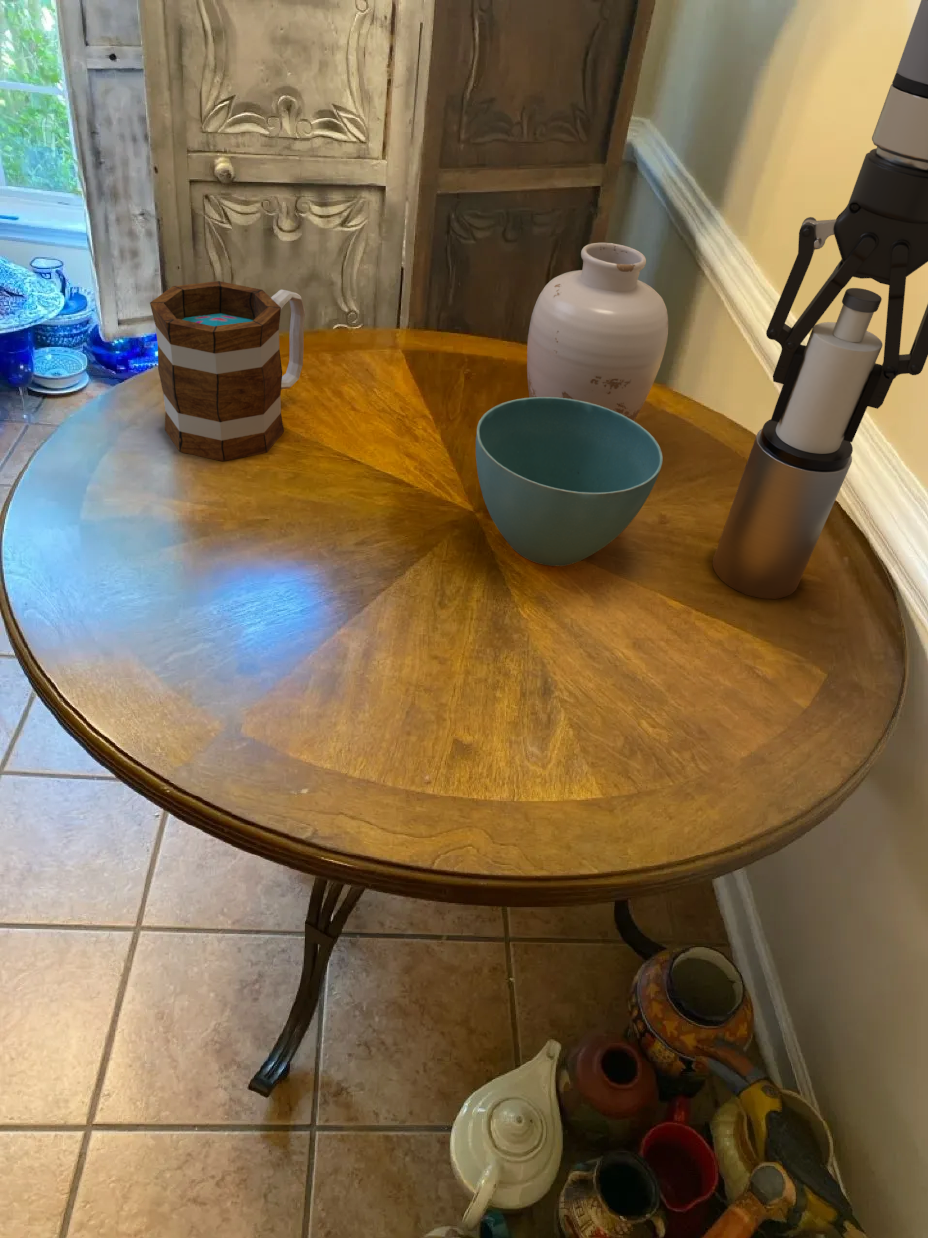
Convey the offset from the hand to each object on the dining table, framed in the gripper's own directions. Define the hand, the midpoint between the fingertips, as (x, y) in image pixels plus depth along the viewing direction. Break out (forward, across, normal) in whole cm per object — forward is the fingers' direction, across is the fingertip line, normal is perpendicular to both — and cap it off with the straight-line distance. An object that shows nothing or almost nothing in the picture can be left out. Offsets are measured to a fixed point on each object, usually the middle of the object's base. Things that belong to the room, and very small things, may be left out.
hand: (812, 424), depth 85 cm
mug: (+18, +61, +2) cm, 64 cm away
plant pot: (+18, +21, +6) cm, 28 cm away
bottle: (+1, 0, 0) cm, 1 cm away
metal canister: (+17, 0, 0) cm, 17 cm away
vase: (+18, +25, -17) cm, 35 cm away
